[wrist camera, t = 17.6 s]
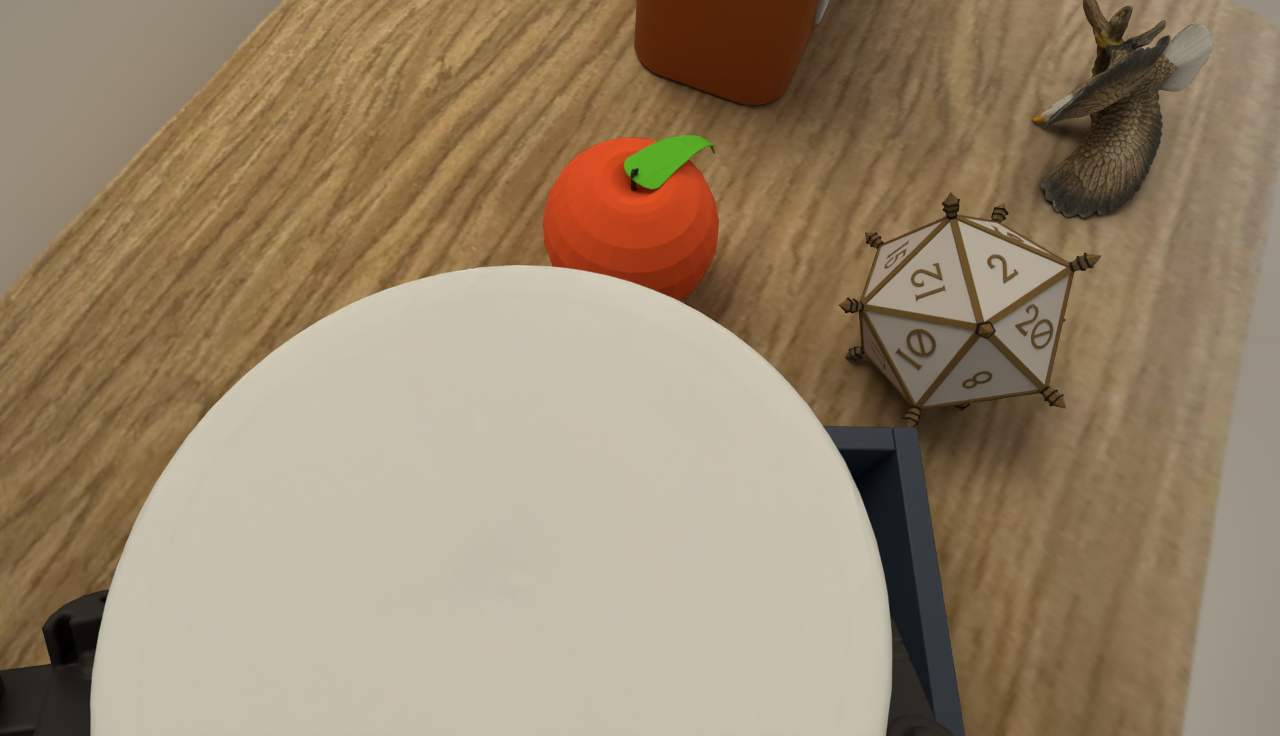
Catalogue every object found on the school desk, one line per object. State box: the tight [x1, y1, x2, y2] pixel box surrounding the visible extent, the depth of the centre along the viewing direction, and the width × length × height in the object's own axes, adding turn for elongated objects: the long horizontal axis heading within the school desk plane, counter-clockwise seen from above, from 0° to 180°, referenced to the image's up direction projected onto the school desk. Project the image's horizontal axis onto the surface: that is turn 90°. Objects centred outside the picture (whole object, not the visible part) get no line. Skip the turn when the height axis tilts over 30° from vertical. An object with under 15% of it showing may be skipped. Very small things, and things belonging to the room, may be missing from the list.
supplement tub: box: [90, 265, 892, 736], centre depth 15 cm, size 10×10×15 cm
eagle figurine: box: [1033, 0, 1214, 218], centre depth 33 cm, size 8×7×9 cm
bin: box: [823, 426, 965, 736], centre depth 22 cm, size 18×18×6 cm
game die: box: [839, 192, 1101, 427], centre depth 27 cm, size 9×8×10 cm
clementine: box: [543, 135, 719, 301], centre depth 28 cm, size 8×7×7 cm
